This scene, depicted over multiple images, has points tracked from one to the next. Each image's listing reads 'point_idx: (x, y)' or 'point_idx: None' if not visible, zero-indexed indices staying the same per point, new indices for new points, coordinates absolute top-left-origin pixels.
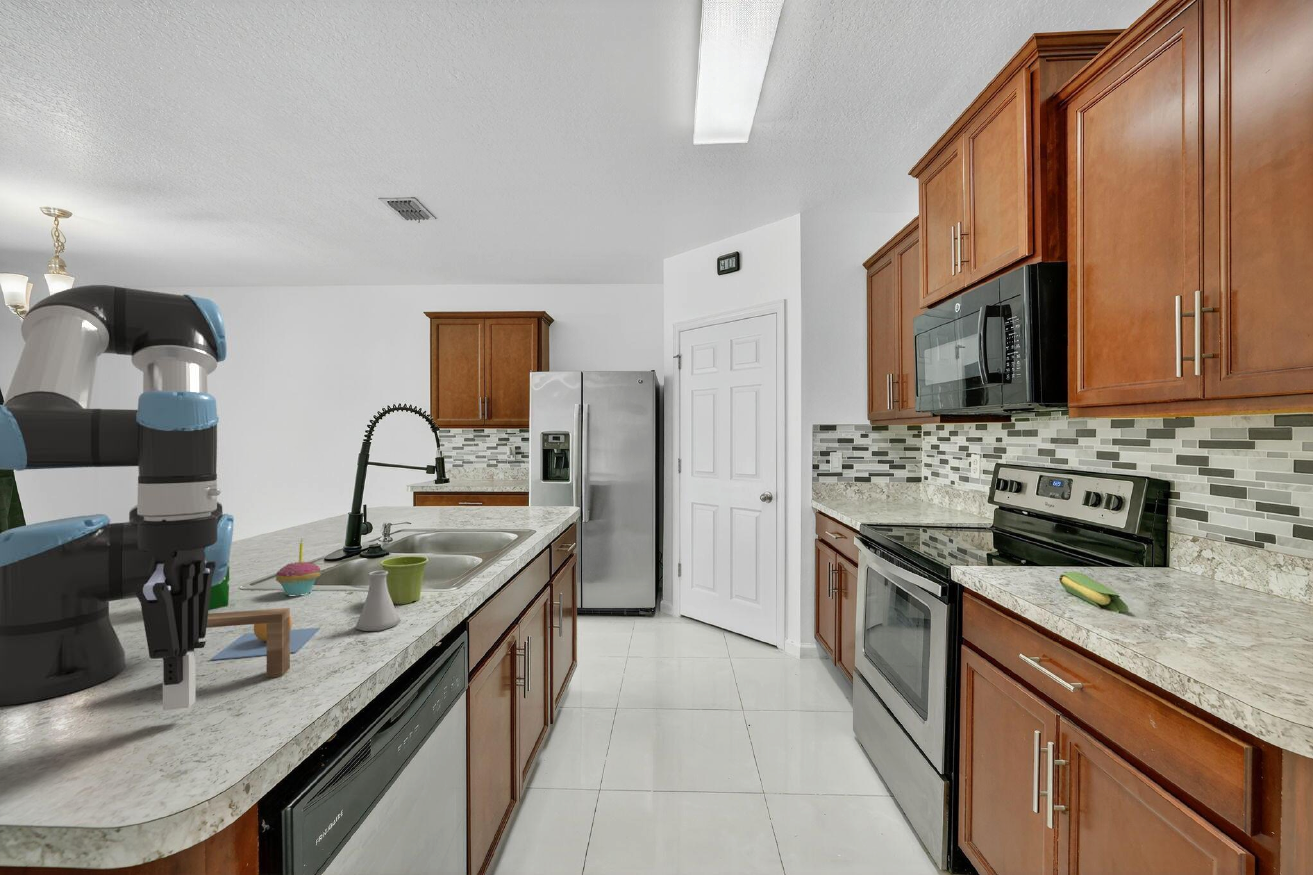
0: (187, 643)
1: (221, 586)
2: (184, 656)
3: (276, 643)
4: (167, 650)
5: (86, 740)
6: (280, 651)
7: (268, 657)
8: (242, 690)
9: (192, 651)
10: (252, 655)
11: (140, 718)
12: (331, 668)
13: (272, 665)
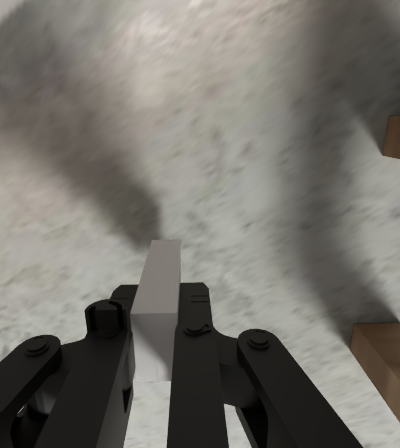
0: (128, 413)
1: None
2: (135, 367)
3: (397, 403)
4: (25, 405)
5: (117, 100)
6: (381, 392)
7: (378, 359)
8: (297, 302)
9: (169, 376)
10: None
11: (207, 158)
12: (354, 420)
13: (366, 351)
